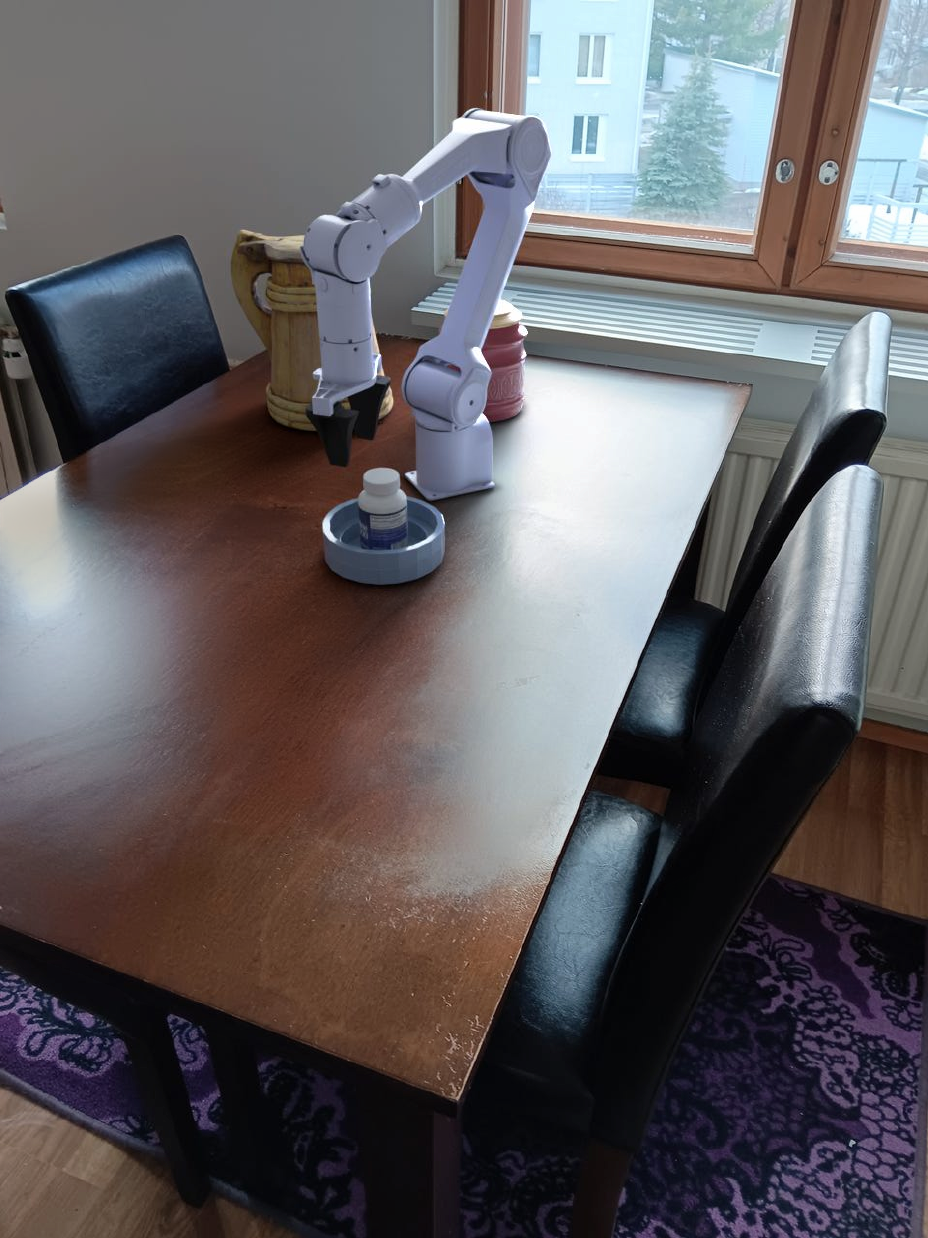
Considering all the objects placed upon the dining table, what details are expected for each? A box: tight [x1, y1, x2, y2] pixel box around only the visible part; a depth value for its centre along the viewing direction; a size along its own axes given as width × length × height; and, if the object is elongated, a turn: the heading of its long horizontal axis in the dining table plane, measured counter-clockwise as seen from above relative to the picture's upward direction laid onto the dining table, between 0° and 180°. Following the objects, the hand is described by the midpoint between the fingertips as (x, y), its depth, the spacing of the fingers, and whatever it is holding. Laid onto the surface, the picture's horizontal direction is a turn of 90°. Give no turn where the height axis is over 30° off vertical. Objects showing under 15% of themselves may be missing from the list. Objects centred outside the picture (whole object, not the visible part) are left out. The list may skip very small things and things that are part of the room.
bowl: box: [321, 495, 446, 586], centre depth 110 cm, size 14×14×4 cm
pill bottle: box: [357, 467, 408, 550], centre depth 108 cm, size 5×5×10 cm
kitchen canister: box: [437, 299, 528, 423], centre depth 143 cm, size 13×13×18 cm
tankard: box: [230, 229, 394, 432], centre depth 140 cm, size 18×24×25 cm
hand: (352, 451), depth 113 cm, fingers open, 7 cm apart
